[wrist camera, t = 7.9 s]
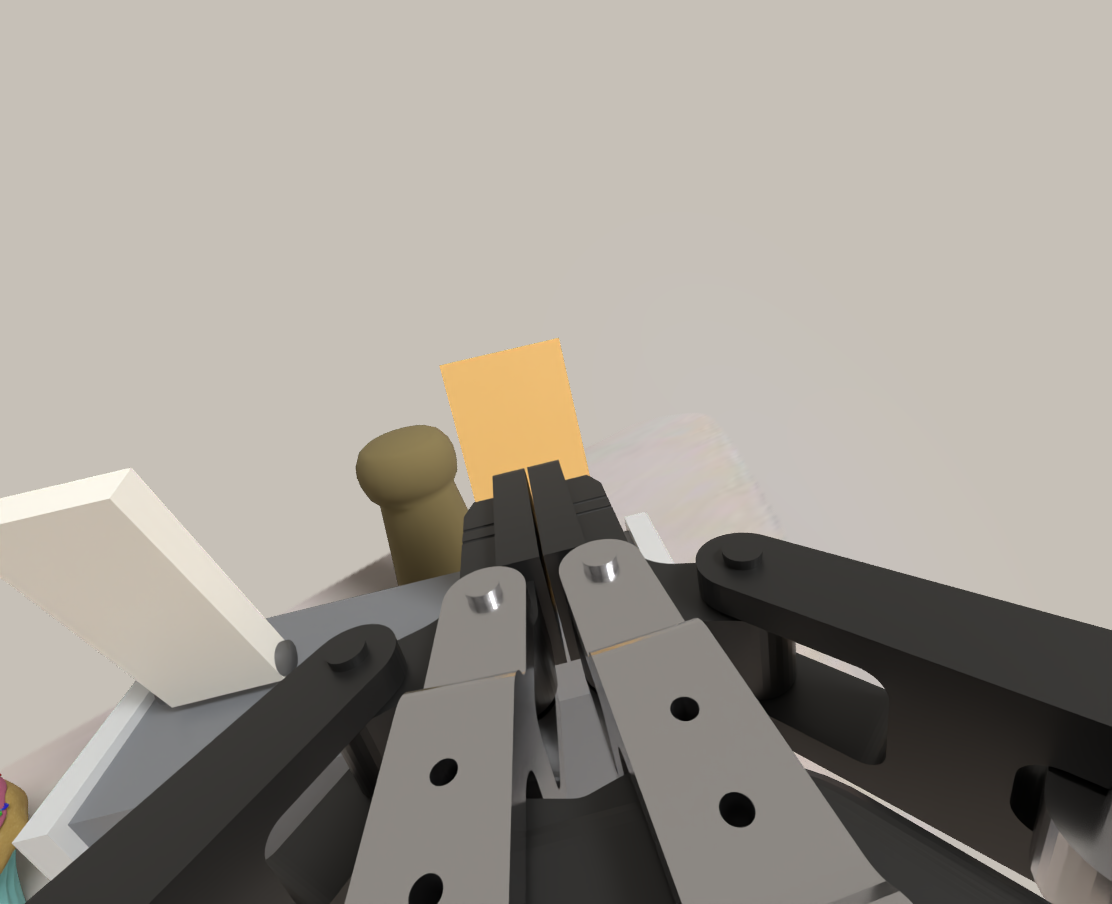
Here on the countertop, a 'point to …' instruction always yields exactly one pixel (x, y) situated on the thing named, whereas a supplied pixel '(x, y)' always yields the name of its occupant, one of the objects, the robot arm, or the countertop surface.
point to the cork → (416, 499)
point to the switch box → (181, 732)
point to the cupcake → (11, 839)
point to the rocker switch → (138, 588)
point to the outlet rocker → (514, 413)
